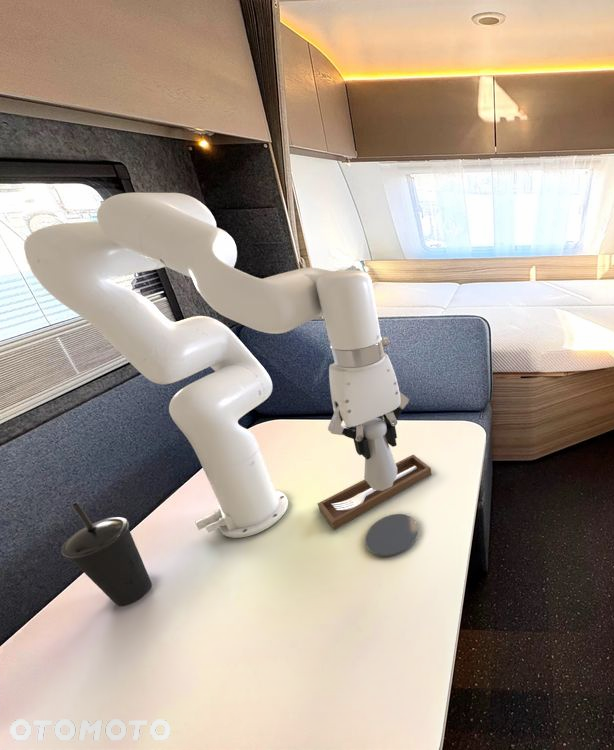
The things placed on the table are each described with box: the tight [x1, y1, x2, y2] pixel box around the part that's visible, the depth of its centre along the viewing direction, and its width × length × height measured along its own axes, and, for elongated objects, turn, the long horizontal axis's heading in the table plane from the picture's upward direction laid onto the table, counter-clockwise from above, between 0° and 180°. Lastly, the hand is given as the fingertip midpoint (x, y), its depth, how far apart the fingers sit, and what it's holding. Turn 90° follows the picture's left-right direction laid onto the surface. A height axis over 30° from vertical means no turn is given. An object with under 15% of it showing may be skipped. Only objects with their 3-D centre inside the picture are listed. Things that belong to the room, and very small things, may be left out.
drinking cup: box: [60, 502, 153, 607], centre depth 62 cm, size 8×8×20 cm
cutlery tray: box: [317, 453, 432, 531], centre depth 86 cm, size 24×8×2 cm, turn 134°
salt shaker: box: [363, 417, 397, 491], centre depth 68 cm, size 6×6×13 cm
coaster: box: [365, 513, 420, 558], centre depth 75 cm, size 10×10×1 cm
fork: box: [332, 466, 417, 510], centre depth 86 cm, size 3×20×2 cm, turn 134°
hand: (378, 448), depth 68 cm, fingers closed on salt shaker, 4 cm apart
